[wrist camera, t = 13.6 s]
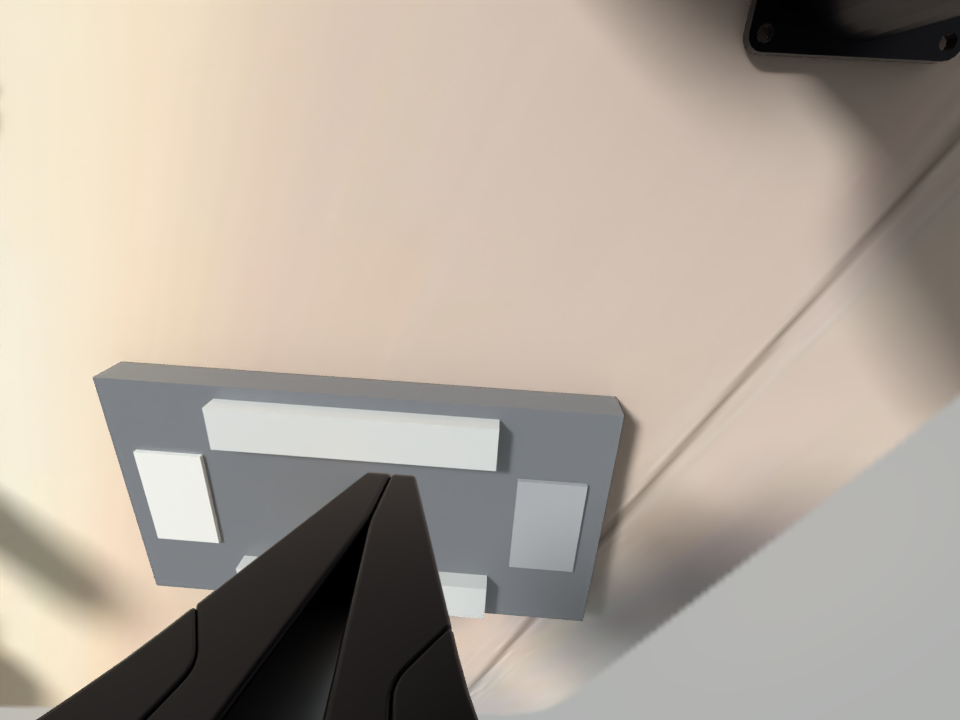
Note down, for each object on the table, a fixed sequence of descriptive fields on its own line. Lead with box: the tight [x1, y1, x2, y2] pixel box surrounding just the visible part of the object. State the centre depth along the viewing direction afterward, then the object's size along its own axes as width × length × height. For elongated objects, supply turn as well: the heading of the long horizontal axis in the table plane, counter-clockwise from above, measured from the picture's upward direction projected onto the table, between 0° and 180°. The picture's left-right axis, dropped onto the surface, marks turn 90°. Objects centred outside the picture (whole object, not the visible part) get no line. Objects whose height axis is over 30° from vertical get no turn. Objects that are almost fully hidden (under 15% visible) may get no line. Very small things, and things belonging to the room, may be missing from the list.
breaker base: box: [93, 362, 624, 621], centre depth 22 cm, size 22×12×2 cm, turn 87°
